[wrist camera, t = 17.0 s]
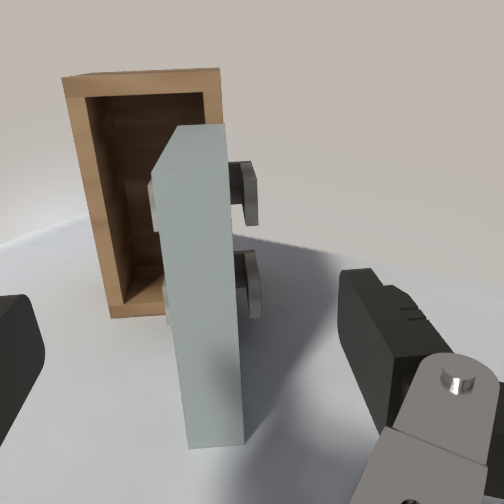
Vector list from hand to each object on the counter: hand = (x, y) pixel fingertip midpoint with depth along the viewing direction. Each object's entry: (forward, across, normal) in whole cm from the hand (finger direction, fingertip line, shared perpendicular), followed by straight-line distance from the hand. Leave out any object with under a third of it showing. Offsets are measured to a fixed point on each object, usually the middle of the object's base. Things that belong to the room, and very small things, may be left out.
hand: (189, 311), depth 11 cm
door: (+13, 0, +13) cm, 18 cm away
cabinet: (+22, +3, +13) cm, 26 cm away
